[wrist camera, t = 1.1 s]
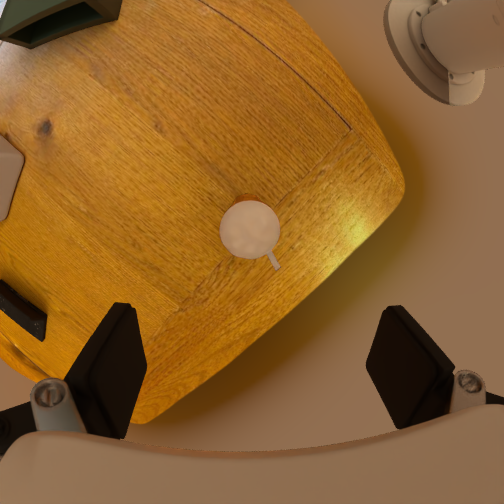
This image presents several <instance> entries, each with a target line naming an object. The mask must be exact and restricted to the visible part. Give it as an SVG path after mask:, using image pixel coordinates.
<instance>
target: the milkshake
mask: <svg viewBox="0 0 504 504" xmlns="http://www.w3.org/2000/svg"><path fill="white" fill-rule="evenodd" d="M279 235H280V224H279V220H278V218H277V216H276V214H275V213H274V211H273V210H272V209H271V208H270V207H269V206H267V205H266V204H264V203H263V202H262V201H261V200H260V199H259V198H258V197H257V196H256V195H252V194H248V193H245V194H243V195H240V196H238V197H237V198H236V199H235V201H234V202H233V204H232V205H231V207H230V208H229V209H228V210H227V211H226V213H225V214H224V216H223V218H222V220H221V224H220V238H221V241H222V243H223V244H224V246H225V247H226V248H227V249H228V251H229V252H230V253H232V254H233V255H235V256H237V257H240V258H245V259H256V258H259V257H262V256H264V255H265V254H267V256H268V258H269V259H270V261H271V263H272V265H273V267H274V269H275V270H276V271H277V270H278V269H280V268H281V267H280V265H279V263H278V261H277V259H276V258H275V256H274V254H273V252H272V251H271V250H272V249H273V247H274V246H275V245H276V243H277V241H278V239H279Z"/></svg>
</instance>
